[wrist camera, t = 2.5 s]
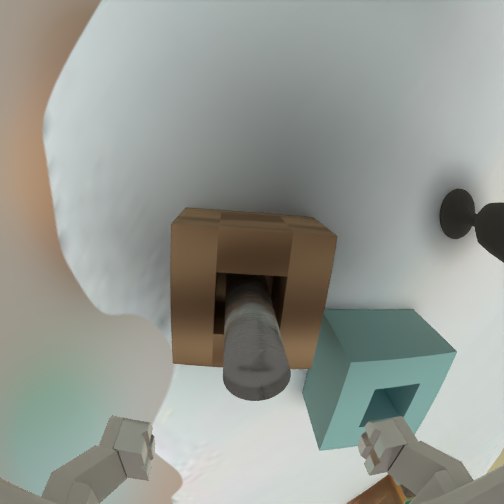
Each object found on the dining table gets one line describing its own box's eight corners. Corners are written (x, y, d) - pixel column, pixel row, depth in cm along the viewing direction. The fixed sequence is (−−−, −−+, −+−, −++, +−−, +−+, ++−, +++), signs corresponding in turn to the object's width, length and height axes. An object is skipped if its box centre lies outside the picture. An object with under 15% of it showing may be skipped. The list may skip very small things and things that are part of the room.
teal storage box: (321, 309, 27) (351, 362, 19) (413, 309, 28) (456, 351, 20) (302, 392, 30) (319, 450, 22) (385, 386, 31) (414, 434, 23)
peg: (227, 258, 24) (224, 349, 12) (266, 260, 24) (295, 351, 13) (225, 293, 25) (221, 399, 13) (262, 296, 25) (285, 400, 14)
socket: (185, 207, 24) (171, 224, 18) (313, 217, 24) (337, 236, 19) (183, 322, 26) (173, 363, 21) (296, 328, 27) (310, 368, 22)
